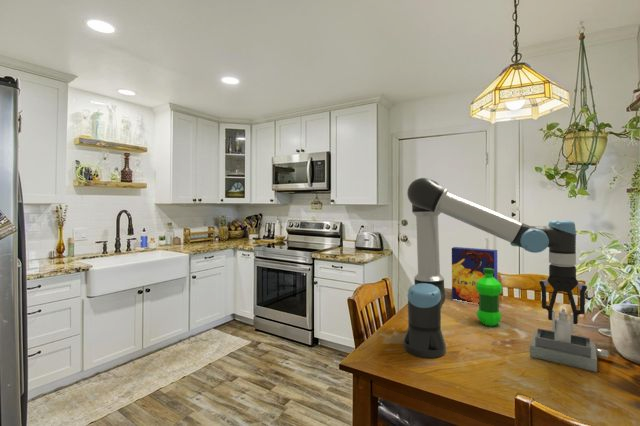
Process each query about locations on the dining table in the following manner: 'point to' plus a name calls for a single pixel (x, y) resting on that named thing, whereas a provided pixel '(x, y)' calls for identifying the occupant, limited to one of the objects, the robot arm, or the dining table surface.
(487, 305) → the plastic bottle
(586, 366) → the grey rectangular open box
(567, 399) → the dining table surface
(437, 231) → the robot arm
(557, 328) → the eye dropper bottle
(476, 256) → the cereal box
